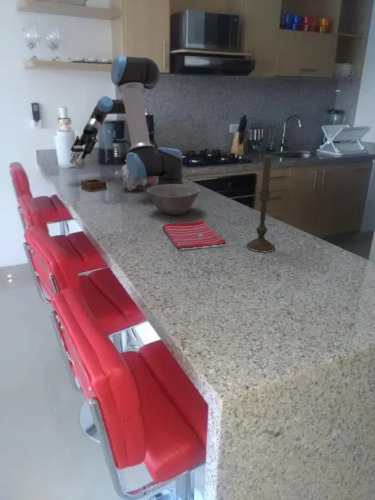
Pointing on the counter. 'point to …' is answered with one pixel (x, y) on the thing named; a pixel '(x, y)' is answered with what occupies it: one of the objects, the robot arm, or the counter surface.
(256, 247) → the candlestick holder
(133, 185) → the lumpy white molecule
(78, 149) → the spice jar
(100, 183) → the walnut can stand
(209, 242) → the dish towel
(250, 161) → the counter surface
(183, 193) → the ceramic bowl
